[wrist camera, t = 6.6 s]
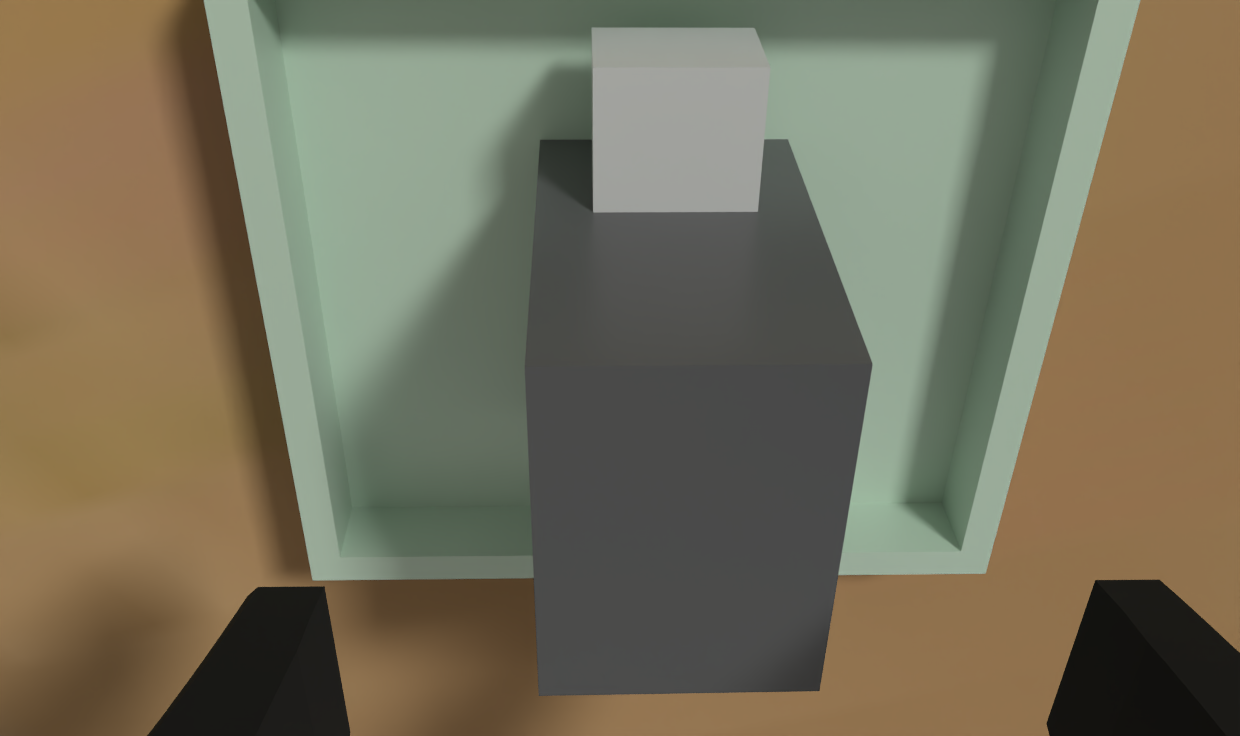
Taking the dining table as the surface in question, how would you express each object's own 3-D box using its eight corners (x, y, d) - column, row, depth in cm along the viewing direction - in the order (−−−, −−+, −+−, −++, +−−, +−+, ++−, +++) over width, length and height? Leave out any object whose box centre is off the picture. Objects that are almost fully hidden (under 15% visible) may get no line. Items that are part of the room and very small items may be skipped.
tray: (955, 501, 20) (985, 573, 19) (332, 506, 20) (313, 580, 19) (1096, -90, 15) (1153, -53, 13) (231, -98, 14) (192, -61, 13)
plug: (759, 418, 18) (819, 690, 14) (548, 421, 18) (539, 695, 14) (801, 7, 15) (899, 197, 10) (536, 7, 15) (517, 197, 10)
